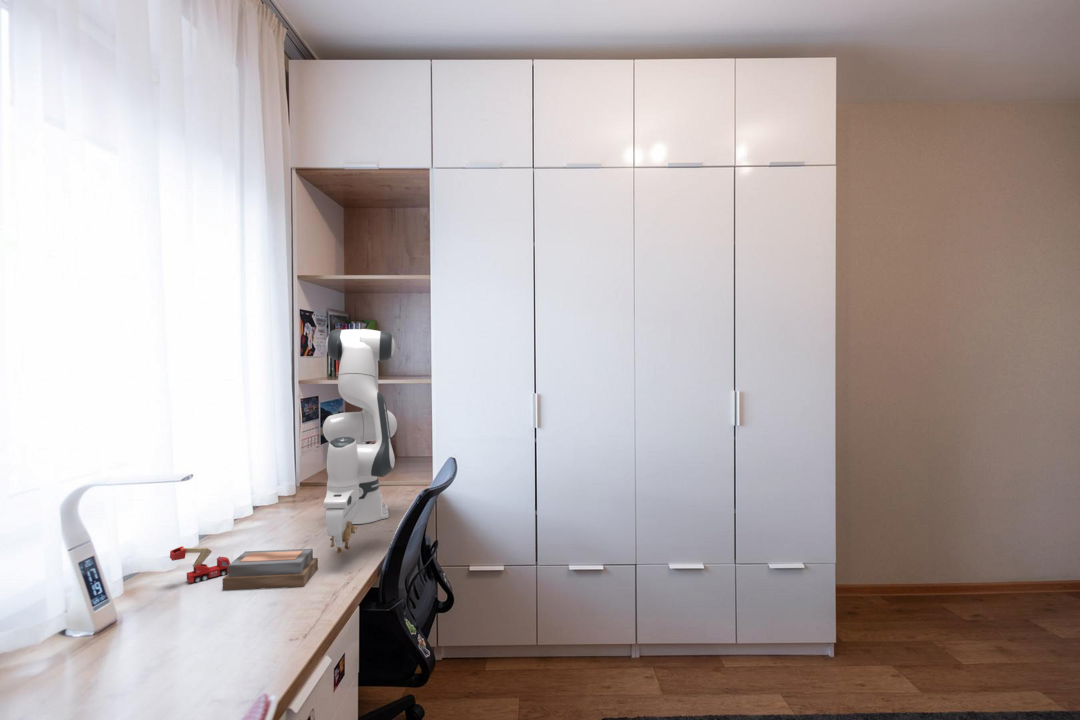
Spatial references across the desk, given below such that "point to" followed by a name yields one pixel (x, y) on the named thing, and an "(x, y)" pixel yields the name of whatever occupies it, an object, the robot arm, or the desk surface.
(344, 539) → the lion figurine
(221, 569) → the toy fire truck
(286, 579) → the plinth
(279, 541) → the desk surface
